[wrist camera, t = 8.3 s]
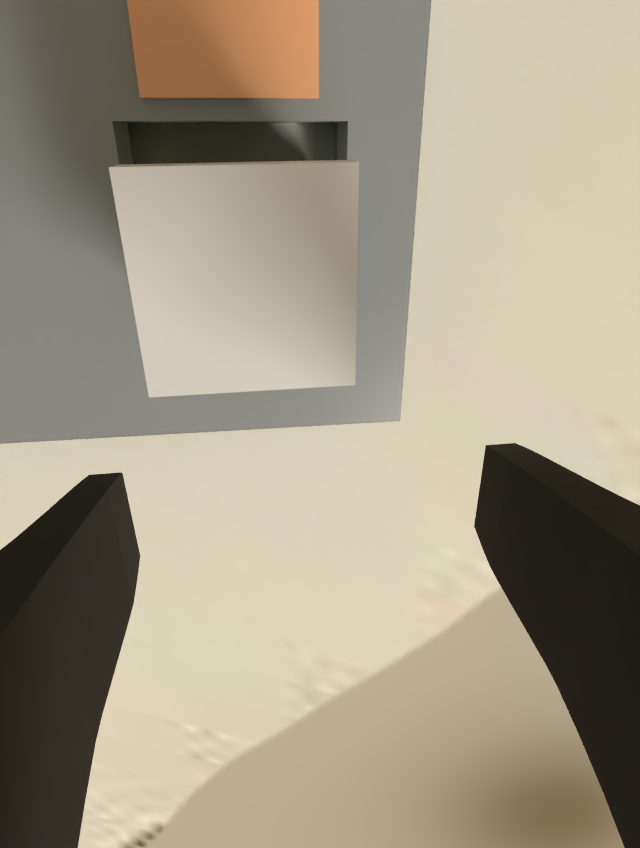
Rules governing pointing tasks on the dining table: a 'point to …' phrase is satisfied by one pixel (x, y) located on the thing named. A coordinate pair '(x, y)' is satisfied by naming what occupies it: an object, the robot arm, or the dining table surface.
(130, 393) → the socket plate
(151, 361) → the plug
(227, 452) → the dining table surface
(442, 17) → the dining table surface
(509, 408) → the dining table surface
